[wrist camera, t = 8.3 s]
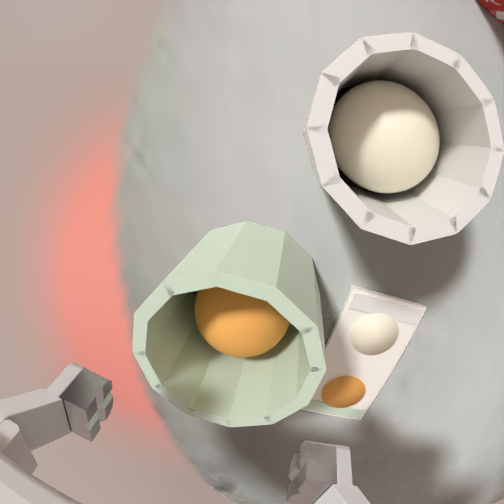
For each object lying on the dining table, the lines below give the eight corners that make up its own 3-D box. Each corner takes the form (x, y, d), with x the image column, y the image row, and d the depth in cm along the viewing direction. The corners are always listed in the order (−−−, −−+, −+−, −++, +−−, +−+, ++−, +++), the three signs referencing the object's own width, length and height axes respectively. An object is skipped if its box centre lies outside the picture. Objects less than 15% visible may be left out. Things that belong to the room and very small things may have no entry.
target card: (424, 304, 17) (427, 309, 17) (359, 416, 21) (360, 421, 21) (351, 284, 18) (353, 288, 17) (297, 404, 21) (296, 410, 21)
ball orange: (304, 262, 18) (303, 305, 13) (279, 334, 20) (271, 388, 15) (217, 237, 18) (189, 272, 14) (202, 311, 20) (175, 359, 15)
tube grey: (443, 101, 14) (515, 88, 7) (410, 218, 16) (466, 265, 10) (323, 56, 14) (337, 5, 7) (290, 180, 16) (284, 206, 10)
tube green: (336, 246, 17) (355, 308, 11) (293, 358, 20) (287, 441, 14) (196, 207, 17) (140, 246, 11) (176, 323, 20) (131, 394, 14)
